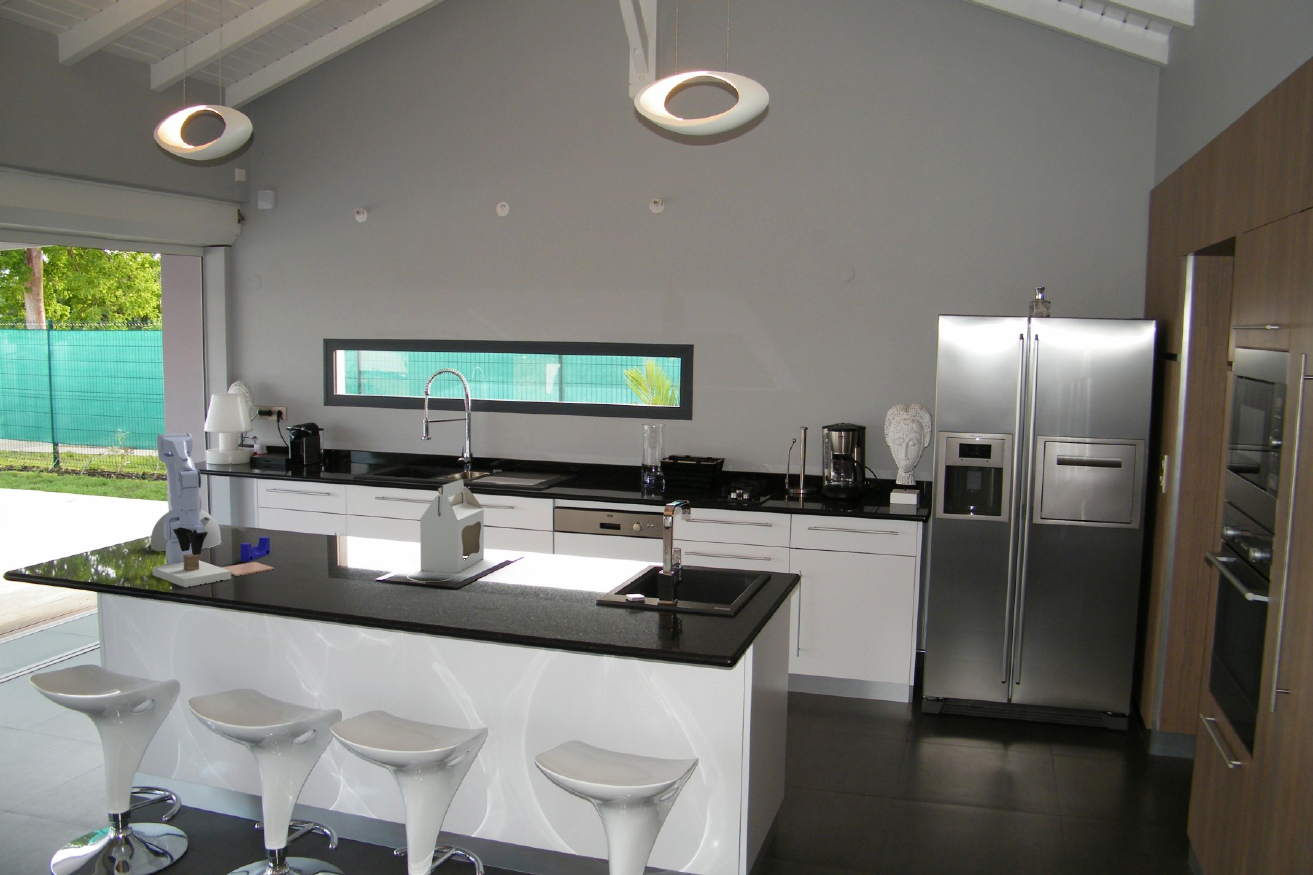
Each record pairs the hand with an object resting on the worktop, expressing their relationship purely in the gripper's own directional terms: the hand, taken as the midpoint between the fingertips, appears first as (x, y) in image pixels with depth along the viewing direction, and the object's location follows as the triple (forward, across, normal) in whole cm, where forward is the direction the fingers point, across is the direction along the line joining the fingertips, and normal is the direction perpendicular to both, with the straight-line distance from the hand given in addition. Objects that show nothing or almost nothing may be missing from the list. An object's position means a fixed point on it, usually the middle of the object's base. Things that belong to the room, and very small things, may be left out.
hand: (191, 552), depth 289 cm
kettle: (+8, -46, +20) cm, 51 cm away
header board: (+8, 0, 0) cm, 8 cm away
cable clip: (+8, -12, +26) cm, 30 cm away
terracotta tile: (+8, +3, +16) cm, 18 cm away
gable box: (+8, +45, +66) cm, 80 cm away
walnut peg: (+8, 0, 0) cm, 8 cm away
